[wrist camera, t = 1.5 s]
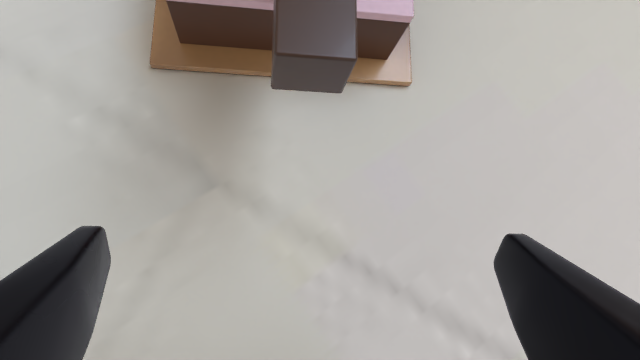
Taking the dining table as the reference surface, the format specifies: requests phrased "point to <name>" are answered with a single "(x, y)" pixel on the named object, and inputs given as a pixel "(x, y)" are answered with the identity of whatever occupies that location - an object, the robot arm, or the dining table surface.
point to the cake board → (261, 56)
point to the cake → (257, 24)
